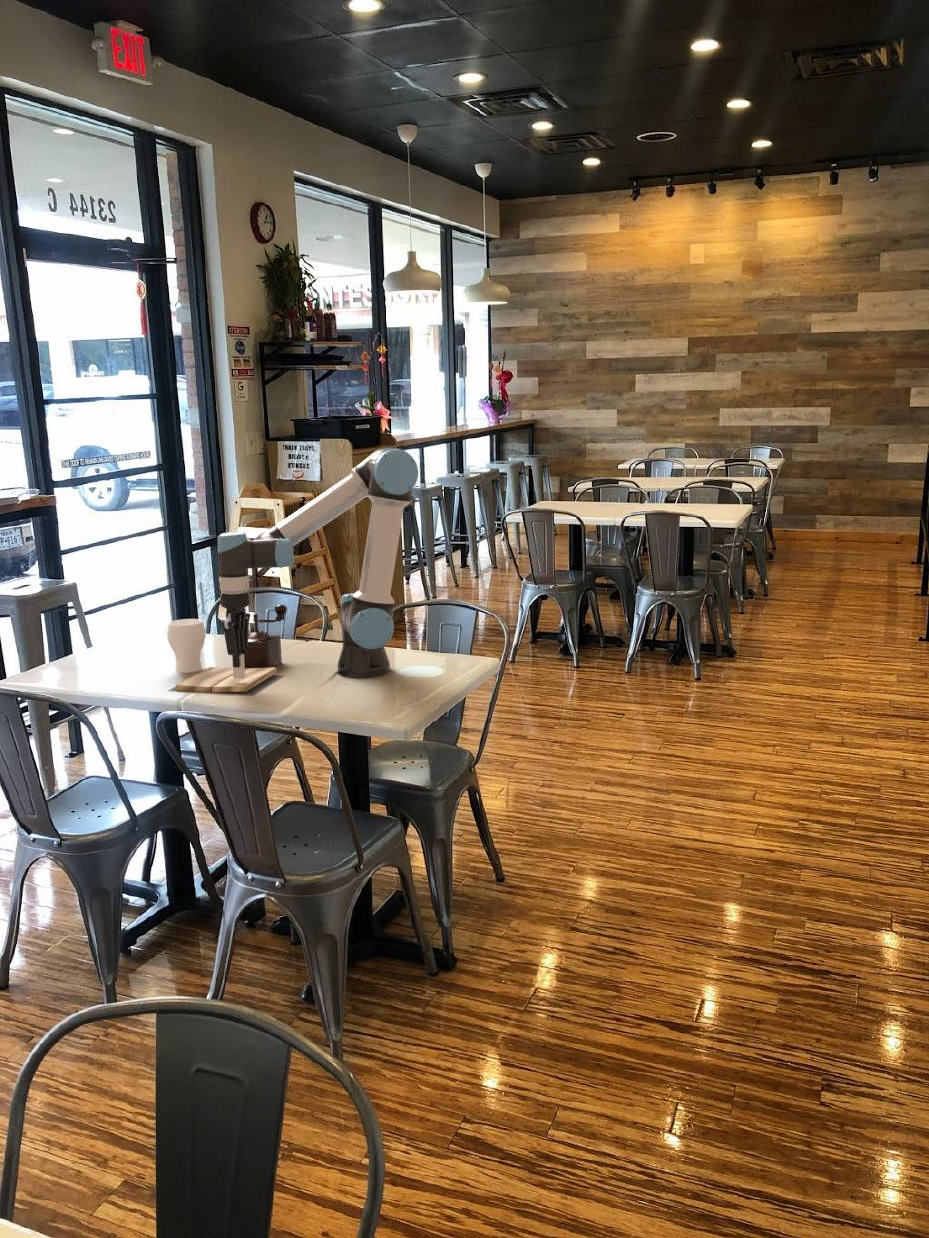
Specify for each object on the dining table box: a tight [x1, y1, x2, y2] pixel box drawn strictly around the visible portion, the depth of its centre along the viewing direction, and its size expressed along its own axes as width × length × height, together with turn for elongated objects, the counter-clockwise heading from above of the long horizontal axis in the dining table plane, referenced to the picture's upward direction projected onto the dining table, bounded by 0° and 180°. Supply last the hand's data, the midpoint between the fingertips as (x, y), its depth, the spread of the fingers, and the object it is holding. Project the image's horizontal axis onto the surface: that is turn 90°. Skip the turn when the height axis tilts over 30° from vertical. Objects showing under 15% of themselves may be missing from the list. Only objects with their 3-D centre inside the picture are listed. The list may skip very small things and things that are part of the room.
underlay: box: [167, 674, 286, 696], centre depth 289 cm, size 25×21×1 cm
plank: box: [212, 667, 278, 692], centre depth 288 cm, size 10×20×2 cm, turn 167°
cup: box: [166, 618, 206, 674], centre depth 303 cm, size 11×11×15 cm
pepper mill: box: [243, 603, 288, 669], centre depth 308 cm, size 16×11×18 cm
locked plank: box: [175, 666, 233, 693], centre depth 290 cm, size 10×20×2 cm, turn 167°
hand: (239, 678), depth 281 cm, fingers closed
